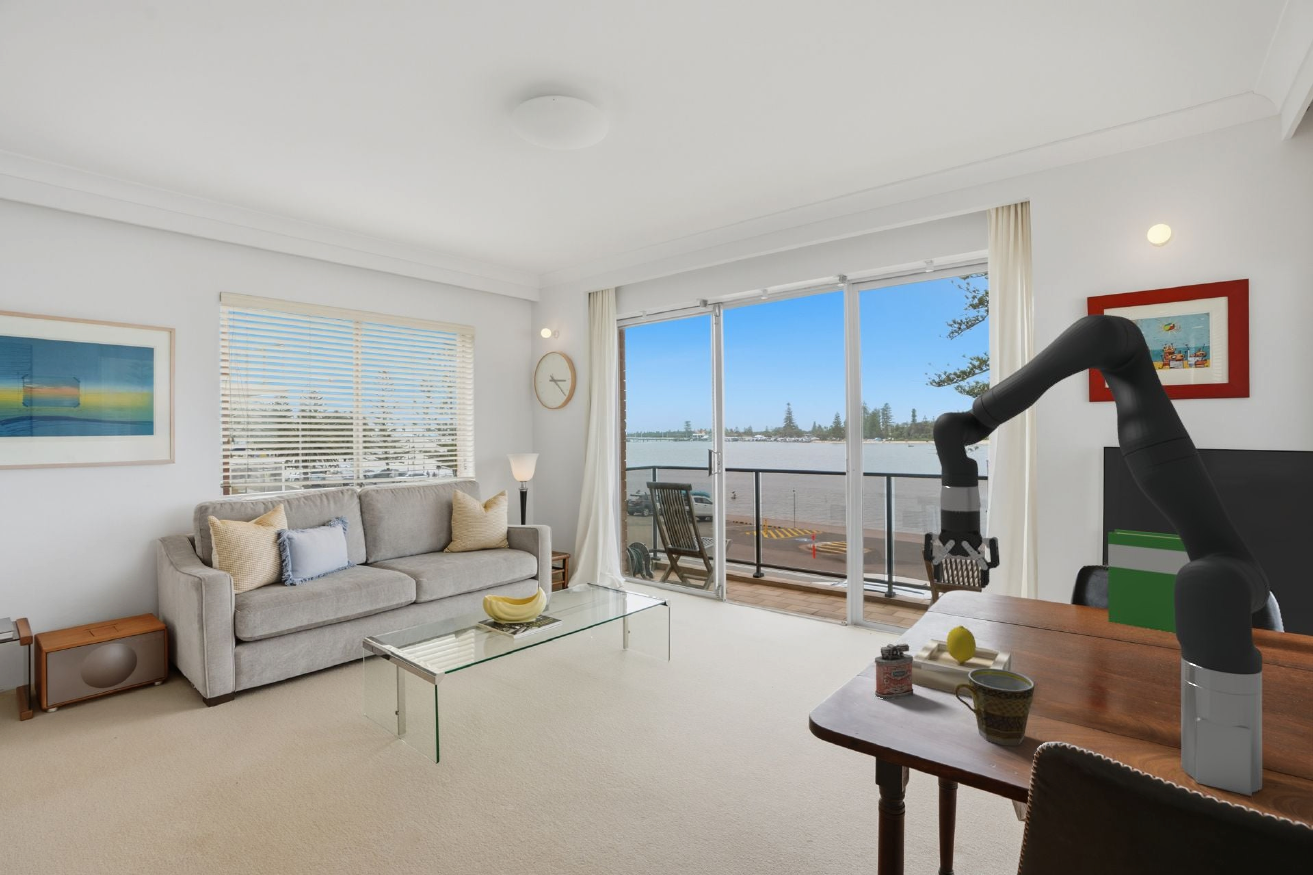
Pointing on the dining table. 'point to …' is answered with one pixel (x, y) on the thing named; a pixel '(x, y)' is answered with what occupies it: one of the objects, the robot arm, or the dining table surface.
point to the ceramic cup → (999, 704)
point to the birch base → (949, 679)
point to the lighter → (894, 672)
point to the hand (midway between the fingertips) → (961, 584)
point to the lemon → (961, 644)
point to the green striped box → (1143, 578)
